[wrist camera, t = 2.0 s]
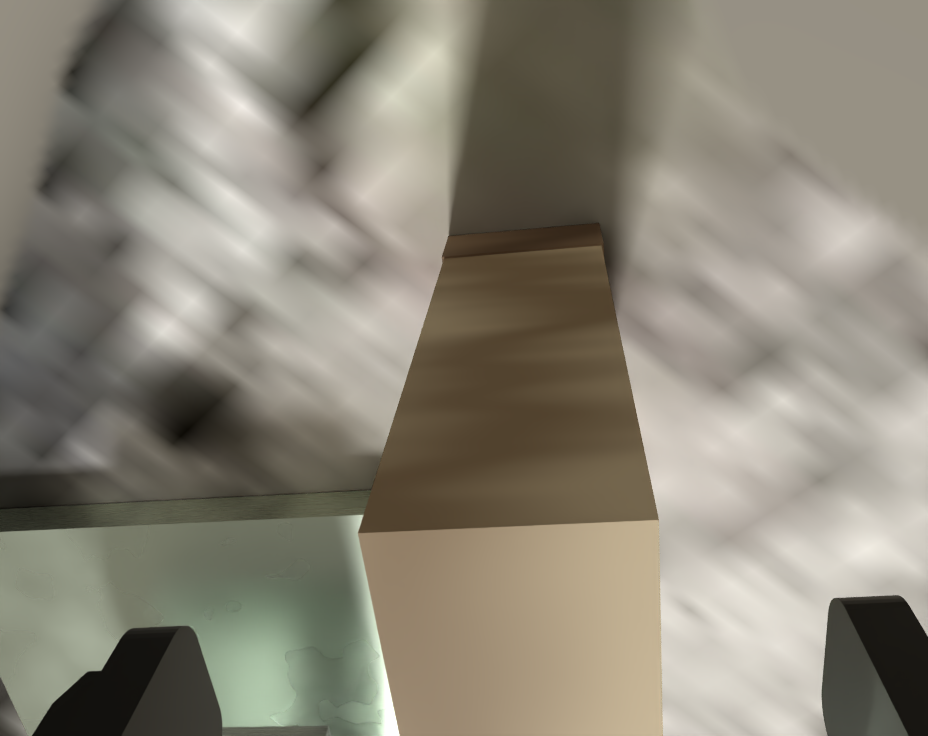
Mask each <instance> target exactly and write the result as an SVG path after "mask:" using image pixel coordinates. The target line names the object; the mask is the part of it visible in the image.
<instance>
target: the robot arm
mask: <svg viewBox="0 0 928 736" xmlns="http://www.w3.org/2000/svg"><path fill="white" fill-rule="evenodd" d="M822 708H823V716H824V722H825V726H826V731H827V735H828V736H928V636H927V635H926V633H925V631H924V630H923V628H922V626H921V625H920V623H919V621H918V620H917V618H916V616H915V615H914V613H913V611H912V610H911V608H910V606H909V605H908V603H907V602H906V601H905V600H904V599H903V598H902V597H901V596H898V595H893V596H871V597H849V598H834V599H833V600H832V601H831V603H830V606H829V611H828V622H827V634H826V646H825V658H824V670H823V682H822ZM32 736H222V716H221V710H220V707H219V703H218V700H217V697H216V694H215V691H214V688H213V685H212V682H211V679H210V675H209V672H208V669H207V666H206V663H205V660H204V657H203V654H202V651H201V647H200V644H199V641H198V638H197V636H196V633H195V632H194V630H193V629H192V628H191V627H189V626H166V627H144V628H132V629H129V630H128V631H127V632H126V633H125V634H124V635H123V636H122V637H121V639H120V640H119V642H118V644H117V645H116V647H115V649H114V650H113V652H112V654H111V655H110V657H109V659H108V660H107V662H106V664H105V665H104V667H103V669H102V670H101V671H88V672H86V673H85V674H84V675H83V676H82V677H81V678H80V679H79V680H78V681H77V682H75V683H74V684H73V685H72V686H71V687H70V688H69V689H68V690H67V691H66V692H64V693H63V694H62V695H61V696H60V697H59V698H58V699H57V700H56V701H55V702H53V703H52V705H51V706H50V708H49V710H48V711H47V713H46V714H45V716H44V717H43V719H42V721H41V722H40V724H39V725H38V727H37V728H36V730H35V731H34V733H33V735H32Z"/></svg>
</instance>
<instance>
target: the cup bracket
mask: <svg viewBox="0 0 928 736" xmlns="http://www.w3.org/2000/svg"><path fill="white" fill-rule="evenodd" d="M370 493H371V490H368V491H348V492H328V493H308V494H289V495H269V496H249V497H229V498H210V499H190V500H170V501H150V502H131V503H111V504H91V505H71V506H52V507H32V508H12V509H0V677H1V679H2V681H3V683H4V685H5V687H6V690H7V692H8V694H9V696H10V698H11V700H12V702H13V705H14V707H15V709H16V711H17V713H18V715H19V717H20V720H21V722H22V724H23V726H24V728H25V730H26V732H27V735H28V736H32V735H33V733H34V731H35V730H36V728H37V727H38V725H39V724H40V722H41V721H42V719H43V717H44V716H45V714H46V713H47V711H48V710H49V708H50V706H51V705H52V703H53V702H55V701H56V700H57V699H58V698H59V697H60V696H61V695H62V694H63V693H64V692H66V691H67V690H68V689H69V688H70V687H71V686H72V685H73V684H74V683H75V682H77V681H78V680H79V679H80V678H81V677H82V676H83V675H84V674H85V673H86V672H88V671H101V670H102V669H103V667H104V665H105V664H106V662H107V660H108V659H109V657H110V655H111V654H112V652H113V650H114V649H115V647H116V645H117V644H118V642H119V640H120V639H121V637H122V636H123V635H124V634H125V633H126V632H127V631H128V630H129V629H132V628H144V627H166V626H189V627H191V628H192V629H193V630H194V632H195V633H196V636H197V638H198V641H199V644H200V647H201V651H202V654H203V657H204V660H205V663H206V666H207V669H208V672H209V675H210V679H211V682H212V685H213V688H214V691H215V694H216V697H217V700H218V703H219V707H220V710H221V716H222V736H399V732H398V728H397V723H396V718H395V713H394V708H393V703H392V698H391V693H390V688H389V684H388V679H387V674H386V669H385V664H384V659H383V654H382V649H381V644H380V640H379V635H378V630H377V625H376V620H375V615H374V610H373V605H372V601H371V596H370V591H369V586H368V581H367V576H366V571H365V566H364V561H363V557H362V552H361V547H360V542H359V537H358V531H359V528H360V525H361V521H362V518H363V515H364V512H365V509H366V506H367V502H368V499H369V496H370Z"/></svg>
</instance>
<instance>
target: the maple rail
mask: <svg viewBox="0 0 928 736" xmlns="http://www.w3.org/2000/svg"><path fill="white" fill-rule="evenodd" d="M442 262H443V264H442V267H441V271H440V274H439V277H438V280H437V283H436V286H435V290H434V293H433V296H432V299H431V302H430V305H429V309H428V312H427V315H426V318H425V321H424V325H423V328H422V331H421V334H420V337H419V340H418V344H417V347H416V350H415V353H414V356H413V359H412V363H411V366H410V369H409V372H408V375H407V379H406V382H405V385H404V388H403V391H402V394H401V398H400V401H399V404H398V407H397V410H396V413H395V417H394V420H393V423H392V426H391V429H390V433H389V436H388V439H387V442H386V445H385V448H384V452H383V455H382V458H381V461H380V464H379V467H378V471H377V474H376V477H375V480H374V483H373V487H372V490H371V493H370V496H369V499H368V502H367V506H366V509H365V512H364V515H363V518H362V521H361V525H360V528H359V531H358V537H359V542H360V547H361V552H362V557H363V561H364V566H365V571H366V576H367V581H368V586H369V591H370V596H371V601H372V605H373V610H374V615H375V620H376V625H377V630H378V635H379V640H380V644H381V649H382V654H383V659H384V664H385V669H386V674H387V679H388V684H389V688H390V693H391V698H392V703H393V708H394V713H395V718H396V723H397V728H398V732H399V736H663V722H662V667H661V613H660V558H659V519H658V514H657V509H656V504H655V499H654V495H653V490H652V485H651V480H650V476H649V471H648V466H647V461H646V456H645V452H644V447H643V442H642V437H641V433H640V428H639V423H638V418H637V413H636V409H635V404H634V399H633V394H632V390H631V385H630V380H629V375H628V370H627V366H626V361H625V356H624V351H623V346H622V342H621V337H620V332H619V327H618V323H617V318H616V313H615V308H614V303H613V299H612V294H611V289H610V284H609V280H608V275H607V270H606V265H605V260H604V243H603V239H602V234H601V229H600V225H599V223H594V224H582V225H571V226H559V227H548V228H536V229H525V230H513V231H502V232H490V233H478V234H467V235H455V236H448V239H447V242H446V246H445V249H444V252H443V255H442Z"/></svg>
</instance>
